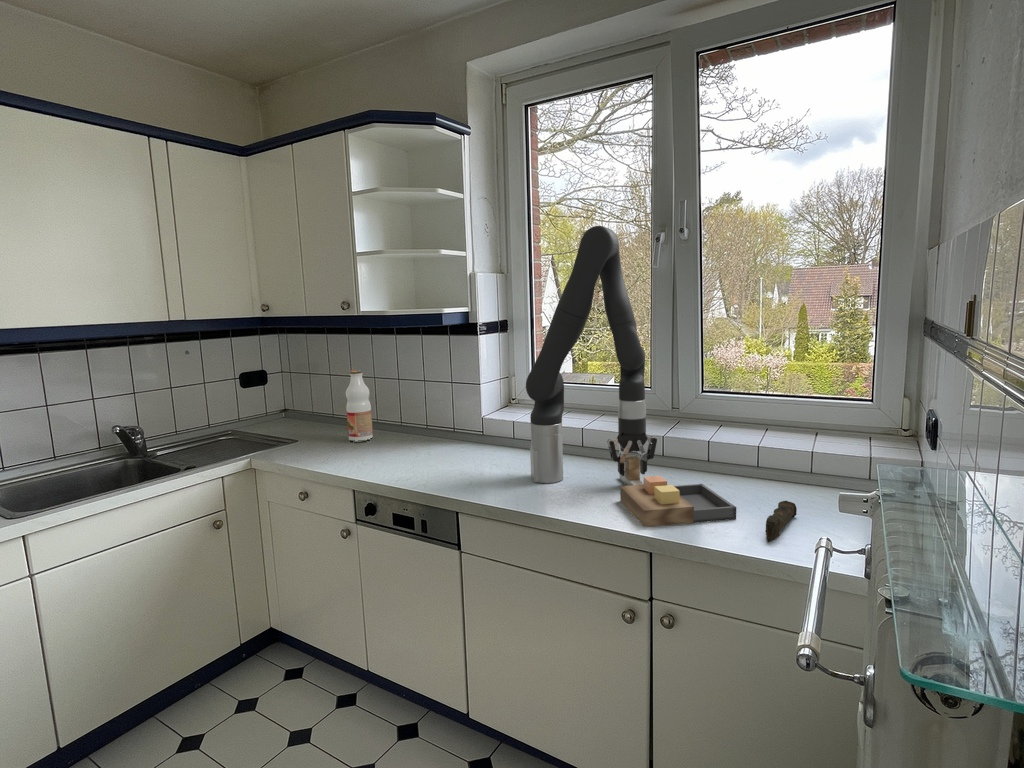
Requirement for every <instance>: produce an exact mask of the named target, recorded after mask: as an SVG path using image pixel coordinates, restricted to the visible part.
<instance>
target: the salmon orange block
mask: <svg viewBox="0 0 1024 768" xmlns="http://www.w3.org/2000/svg"><path fill="white" fill-rule="evenodd" d="M643 483H644V489H645V490H646V491H647V492H648V493H649V494H654V486H665V485H668V480H666V479H665V478H664V477H662V476H661V475H654V476H644V477H643Z"/></svg>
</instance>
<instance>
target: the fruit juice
mask: <svg viewBox="0 0 1024 768" xmlns="http://www.w3.org/2000/svg"><path fill="white" fill-rule="evenodd" d="M363 374H364V373H363V370H362V369H354V370H353V369H351V370H349V376H350V381H349V384H348V387H347V388H346V389H345V396H346V399H347V402H346V406H345V407H346V408H345V409H346V419H347V421H346V422H347V431H348V432H347V433H348V441H349V440H355V441H358V440H367V439H370V438H372V437H373V438H374V433H373V431H374V429H373V419H372V418H373V417H372V406H371V401H370V389H369V387H368V386H367V385H366V384H365V381H364V379H363Z"/></svg>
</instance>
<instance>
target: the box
mask: <svg viewBox="0 0 1024 768" xmlns="http://www.w3.org/2000/svg"><path fill="white" fill-rule="evenodd" d="M673 486H674V487H675V488H677V489H678V490H679V491H680V496H681V497H683V498H684V499H685V500H686V501H688V502H689V503H690V504H691V505H693V506H694V523H693V524H696V523H695V522H699V523H708V522H707V521H710V522H718V521H719V522H721V521H722V522H723V521H730V520H731V521H732V520H737V506H736V505H734V504H733V503H731V502H730V501H728V500H727V499H725V498H724V497H722V496H721V495H720V494H718V493H717V492H715V491H713V489H711V488H709V487H708V486H707V485H705V484H704V483H695V484H694V483H693V484H683V485H682V484H681V485H679V484H678V485H673Z"/></svg>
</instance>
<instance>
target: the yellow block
mask: <svg viewBox="0 0 1024 768" xmlns="http://www.w3.org/2000/svg"><path fill="white" fill-rule="evenodd" d="M674 486H675V485H673V484H667V485H665V486H654V498H655V499H656V500H657V501H658V502H659V503H660V504H673V503H680V491H679V490H678V489H677V488H675V487H674Z"/></svg>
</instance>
